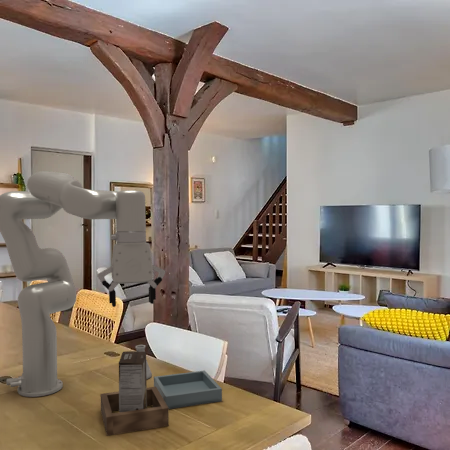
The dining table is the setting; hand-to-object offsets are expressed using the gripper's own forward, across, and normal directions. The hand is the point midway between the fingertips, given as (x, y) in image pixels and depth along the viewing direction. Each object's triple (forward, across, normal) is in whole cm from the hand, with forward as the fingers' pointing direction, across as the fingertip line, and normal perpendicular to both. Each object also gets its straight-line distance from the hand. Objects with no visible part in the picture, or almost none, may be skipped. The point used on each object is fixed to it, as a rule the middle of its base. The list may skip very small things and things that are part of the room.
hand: (132, 304), depth 122 cm
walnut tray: (+29, -1, -1) cm, 29 cm away
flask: (+29, +6, +28) cm, 41 cm away
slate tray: (+29, +16, +9) cm, 35 cm away
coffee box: (+29, -1, -1) cm, 29 cm away
